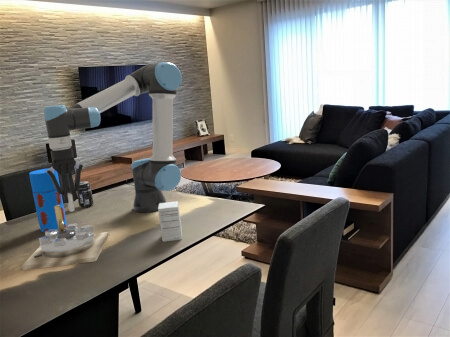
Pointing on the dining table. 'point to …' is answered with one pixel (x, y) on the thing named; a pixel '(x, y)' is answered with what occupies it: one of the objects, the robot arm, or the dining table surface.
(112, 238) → the dining table surface
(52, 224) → the thermos
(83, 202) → the beverage can
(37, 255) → the birch base board
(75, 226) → the metal lathe chuck
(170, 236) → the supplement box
